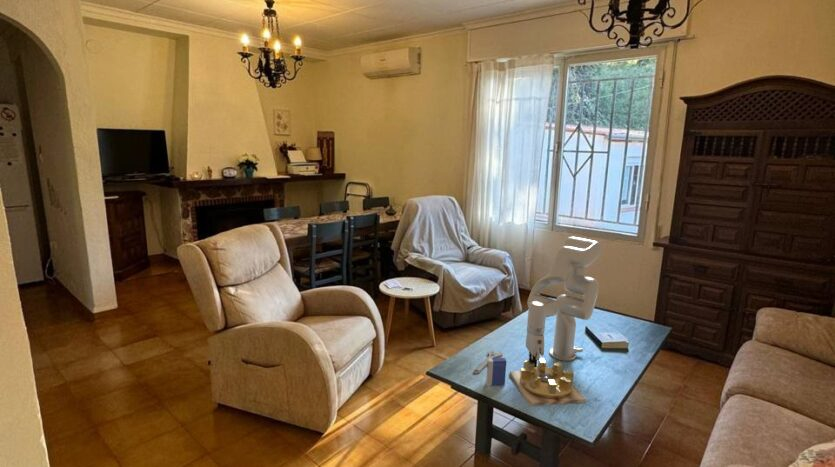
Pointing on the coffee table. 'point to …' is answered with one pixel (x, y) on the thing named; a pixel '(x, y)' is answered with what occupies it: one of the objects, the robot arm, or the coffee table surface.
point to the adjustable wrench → (484, 363)
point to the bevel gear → (546, 380)
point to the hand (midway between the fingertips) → (532, 366)
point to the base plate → (536, 400)
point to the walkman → (496, 371)
